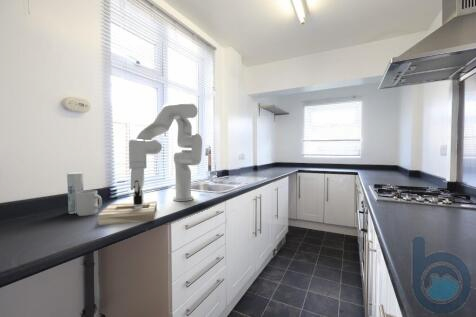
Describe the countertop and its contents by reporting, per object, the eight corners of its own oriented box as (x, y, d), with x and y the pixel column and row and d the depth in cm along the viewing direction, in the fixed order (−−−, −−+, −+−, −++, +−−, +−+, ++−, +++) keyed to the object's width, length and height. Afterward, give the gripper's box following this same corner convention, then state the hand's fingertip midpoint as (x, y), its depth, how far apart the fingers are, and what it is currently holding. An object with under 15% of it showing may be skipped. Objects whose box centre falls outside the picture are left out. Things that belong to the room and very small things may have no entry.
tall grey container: (66, 212, 109) (64, 173, 109) (81, 209, 115) (79, 172, 114) (71, 214, 106) (70, 174, 105) (86, 211, 111) (85, 172, 110)
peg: (133, 213, 106) (133, 191, 106) (145, 212, 108) (145, 190, 107) (131, 216, 101) (131, 193, 100) (144, 215, 103) (144, 192, 102)
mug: (72, 215, 105) (72, 193, 104) (87, 210, 113) (86, 189, 112) (94, 216, 103) (94, 193, 102) (108, 211, 111) (107, 190, 111)
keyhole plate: (110, 213, 109) (109, 204, 108) (156, 209, 115) (156, 201, 115) (98, 225, 92) (98, 214, 91) (153, 220, 98) (153, 210, 98)
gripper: (132, 164, 110) (133, 199, 111) (125, 166, 94) (126, 208, 95) (148, 163, 112) (148, 198, 113) (144, 166, 96) (145, 207, 97)
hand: (138, 202), depth 104 cm, fingers closed on peg, 4 cm apart
